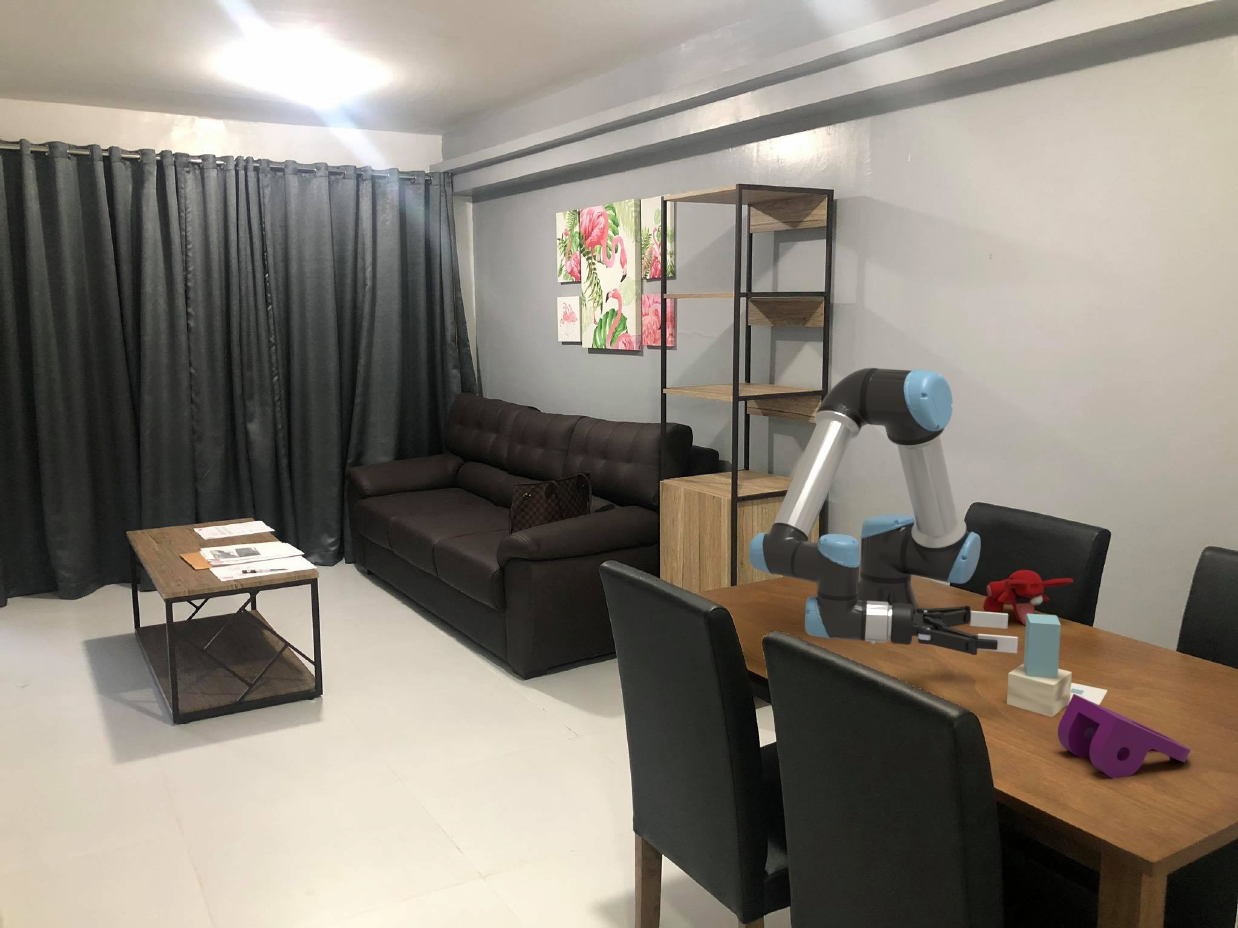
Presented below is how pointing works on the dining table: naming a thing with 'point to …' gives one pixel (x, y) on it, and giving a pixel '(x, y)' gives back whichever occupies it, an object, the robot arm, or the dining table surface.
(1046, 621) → the teal brick
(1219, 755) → the dining table surface
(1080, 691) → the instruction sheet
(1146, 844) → the dining table surface
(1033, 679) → the birch base brick
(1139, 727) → the mounting bracket
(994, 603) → the toy
